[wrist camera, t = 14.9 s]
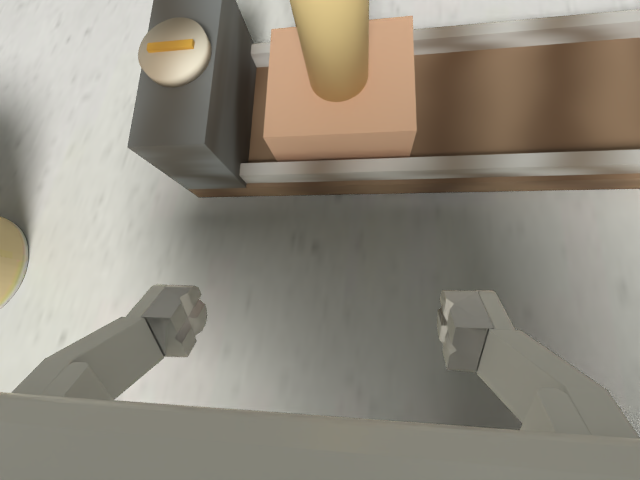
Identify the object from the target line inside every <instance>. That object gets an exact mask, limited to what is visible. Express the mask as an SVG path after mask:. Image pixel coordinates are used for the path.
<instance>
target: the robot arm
mask: <svg viewBox="0 0 640 480" xmlns="http://www.w3.org/2000/svg"><path fill="white" fill-rule="evenodd" d="M200 297H201V292H200V290H199V287H196V286H187V285H157V284H156V285H154V286H152V287H151V288H150V289H149V290H148V291H147V293H146V294H145V295H144V296H143V297H142V298H141V300H140V301H139V302H138V303H137V304H136V305H135V307H134V308H133V309H132V310H131V311H130V312H129V314H128V315H127V316H126V317H120V318H119V319H117V320H115V321H113V322H111V323H109V324H108V325H106V326H104V327H102V328H100V329H98V330H97V331H95V332H93V333H91V334H89V335H87V336H86V337H84V338H82V339H80V340H78V341H77V342H75V343H73V344H71V345H69V346H67V347H66V348H64V349H62V350H60V351H58V352H56V353H55V354H53V355H51V356H49V357H47V358H45V359H44V360H43V361H42V362H41V363H40V364H39V365H38V366H37V367H36V368H35V369H34V370H33V371H32V372H31V373H30V374H29V375H28V376H27V377H26V378H25V379H24V380H23V381H22V382H21V383H20V384H19V385H18V386H17V387H16V388H15V389H14V390H13V392H12V393H5V392H0V480H640V437H639V436H638V434H637V433H636V431H635V430H634V429H633V427H632V426H631V424H630V423H629V421H628V420H627V418H626V417H625V415H624V414H623V412H622V411H621V409H620V408H619V406H618V405H617V404H616V402H615V401H614V399H613V398H612V396H611V395H610V393H609V392H608V390H606V389H605V388H603V387H602V386H601V385H599V384H598V383H596V382H595V381H593V380H592V379H590V378H589V377H588V376H586V375H585V374H583V373H582V372H580V371H579V370H577V369H576V368H575V367H573V366H572V365H570V364H569V363H567V362H566V361H564V360H563V359H562V358H560V357H559V356H557V355H556V354H554V353H553V352H551V351H550V350H549V349H547V348H546V347H544V346H543V345H541V344H540V343H538V342H537V341H536V340H534V339H533V338H531V337H530V336H528V335H527V334H526V333H524V332H523V331H521V330H515V328H514V327H513V325H512V323H511V321H510V319H509V317H508V315H507V313H506V311H505V309H504V307H503V305H502V303H501V301H500V300H499V298H498V296H497V294H496V292H495V291H493V290H476V291H472V290H442V291H441V294H440V299H439V300H440V304H441V308H440V309H439V310H438V313H437V331H438V336H439V340H440V341H441V342H442V343H443V350H442V353H443V357H444V361H445V365H446V369H447V370H452V371H465V372H477V375H478V376H479V377H480V378H481V379H482V380H483V381H484V382H485V383H486V385H487V386H488V387H489V388H490V389H491V390H492V391H493V392H494V393H495V394H496V395H497V396H498V398H499V399H500V400H501V401H502V402H503V403H504V404H505V405H506V406H507V407H508V408H509V410H510V411H511V412H512V413H513V414H514V415H515V416H516V417H517V418H518V419H519V420H520V422H521V423H522V426H521V428H520V430H513V429H500V428H486V427H472V426H459V425H445V424H431V423H418V422H404V421H390V420H376V419H362V418H348V417H334V416H320V415H306V414H293V413H279V412H266V411H252V410H238V409H225V408H211V407H197V406H184V405H170V404H156V403H143V402H129V401H115V400H114V399H116V398H117V397H118V396H119V395H120V394H122V393H123V392H124V391H125V390H126V389H128V388H129V387H130V386H131V385H132V384H134V383H135V382H136V381H137V380H138V379H140V378H141V377H142V376H143V375H144V374H145V373H147V372H148V371H149V370H150V369H151V368H153V367H154V366H155V365H156V364H157V363H159V362H160V361H161V360H162V359H163V358H164V357H188V356H189V354H190V352H191V350H192V348H193V347H194V345H195V343H196V337H195V336H196V335H197V334H198V333H200V332H201V331H202V330H203V328H204V326H205V324H206V320H207V309H206V306H205V304H204V303H203V302H202V301H201V300H199V299H200Z"/></svg>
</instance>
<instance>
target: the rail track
mask: <svg viewBox="0 0 640 480" xmlns="http://www.w3.org/2000/svg"><path fill="white" fill-rule="evenodd" d="M413 42H414V69H415V95H416V122H417V132H416V135H415V139H414V143H413V146H412V150H411V154H410V157H409V158H380V159H351V160H323V161H294V162H277V161H276V159H275V157H274V155H273V154H272V152H271V150H270V149H269V147H268V145H267V143H266V142H265V140H264V138H263V133H264V120H265V107H266V94H267V81H268V69H269V56H270V43H271V42H267V43H256V44H253V41H252V39H251V36H250V34H249V32H248V29H247V27H246V24H245V22H244V20H243V17H242V15H241V12H240V10H239V8H238V5H237V3H236V0H154V1H153V6H152V12H151V18H150V23H149V29H148V33H147V34H146V36H145V37H144V38H143V40H142V42H141V45H140V47H139V52H138V59H139V63H140V66H141V74H140V80H139V85H138V91H137V96H136V102H135V108H134V113H133V119H132V124H131V130H130V136H129V141H128V148H129V149H131V150H132V151H134V152H135V153H136V154H138V155H139V156H141V157H142V158H143V159H145V160H146V161H148V162H149V163H151V164H152V165H153V166H155V167H156V168H158V169H159V170H161V171H162V172H163V173H165V174H166V175H168V176H169V177H171V178H172V179H173V180H175V181H176V182H178V183H179V184H181V185H182V186H183V187H185V188H186V189H188V190H189V191H191V192H192V193H193V194H195V195H196V196H198V197H240V196H291V195H341V194H392V193H443V192H494V191H544V190H595V189H640V9H637V10H626V11H614V12H603V13H592V14H581V15H570V16H558V17H547V18H536V19H525V20H513V21H502V22H491V23H480V24H469V25H457V26H446V27H435V28H424V29H413Z"/></svg>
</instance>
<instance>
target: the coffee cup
mask: <svg viewBox="0 0 640 480" xmlns="http://www.w3.org/2000/svg"><path fill="white" fill-rule="evenodd" d="M27 264H28V245H27V241H26V237H25V236H24V234H23V232H22V231H21V229H20V228H19V227H18V226H17V225H16V224H14V223H13V222H11V221H10V220H8V219H6V218H3V217H0V309H1V308H2V307H3V306H4V305H5V304H6V303H7V302H8V301H9V300H10V299H11V298H12V297H13V296H14V294H15V293H16V291H17V290H18V288H19V286H20V284H21V282H22V280H23V278H24V276H25V273H26V269H27Z"/></svg>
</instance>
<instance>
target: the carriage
mask: <svg viewBox="0 0 640 480" xmlns="http://www.w3.org/2000/svg"><path fill="white" fill-rule="evenodd" d="M290 3H291V7H292V11H293V16H294V20H295V24H296V27H290V28H279V29H272V30H271V43H270V56H269V69H268V81H267V94H266V107H265V120H264V133H263V138H264V140H265V142H266V143H267V145H268V147H269V149H270V150H271V152H272V154H273V155H274V157H275V159H276V161H277V162H294V161H323V160H351V159H380V158H409V157H410V154H411V150H412V146H413V143H414V139H415V135H416V132H417V122H416V95H415V69H414V42H413V16H405V17H395V18H384V19H374V20H369V0H290Z"/></svg>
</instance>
